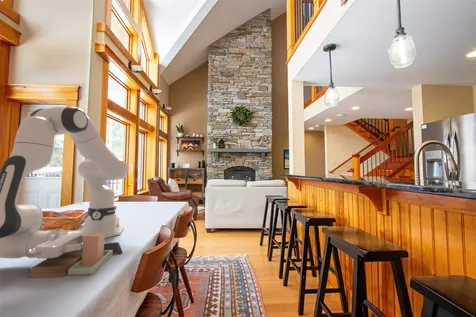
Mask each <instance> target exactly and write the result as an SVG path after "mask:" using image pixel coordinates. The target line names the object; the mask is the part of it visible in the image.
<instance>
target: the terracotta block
mask: <svg viewBox="0 0 476 317" xmlns="http://www.w3.org/2000/svg"><path fill="white" fill-rule="evenodd" d="M104 235H105V232H90V233H88V234H86V235H85V236H83V242H82V248H83V251H82V266H87V265H95V264H96V263H97V262H98V261H99V260H100V259H101V258H103V255H104V244H105V238H104Z"/></svg>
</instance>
